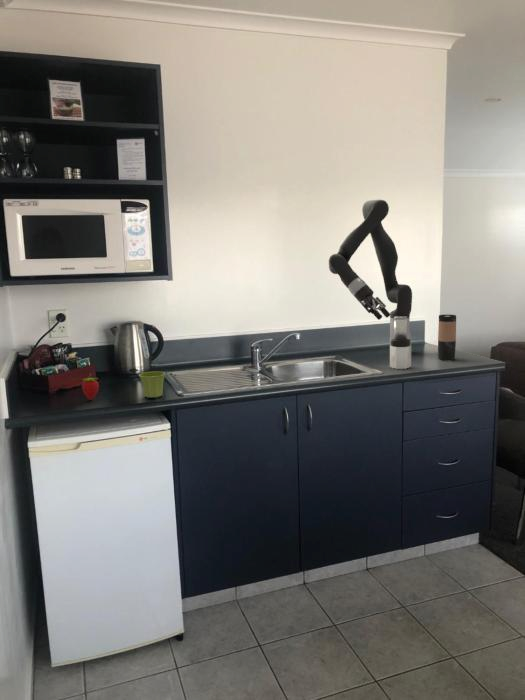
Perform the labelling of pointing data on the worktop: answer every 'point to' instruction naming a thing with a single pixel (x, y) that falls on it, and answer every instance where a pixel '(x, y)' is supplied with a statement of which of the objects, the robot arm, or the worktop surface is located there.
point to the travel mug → (446, 337)
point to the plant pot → (152, 383)
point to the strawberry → (90, 387)
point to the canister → (400, 328)
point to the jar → (400, 354)
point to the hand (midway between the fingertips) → (384, 317)
